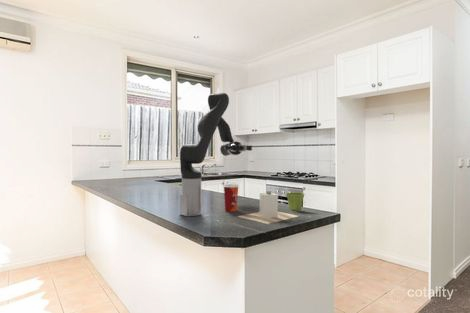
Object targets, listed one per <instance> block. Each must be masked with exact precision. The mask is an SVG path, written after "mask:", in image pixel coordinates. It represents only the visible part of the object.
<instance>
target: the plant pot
mask: <svg viewBox="0 0 470 313" xmlns="http://www.w3.org/2000/svg"><path fill="white" fill-rule="evenodd" d="M285 195H286V197H287V204H288V211H289V210H291V211H295V212H302V208H303V202H304V201H303V200H304V197H305V193H303V192H286V193H285Z"/></svg>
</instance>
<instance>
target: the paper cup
mask: <svg viewBox="0 0 470 313" xmlns="http://www.w3.org/2000/svg"><path fill="white" fill-rule="evenodd" d="M239 188H240V186H239V184H238V183H235V182H227V183H223V189H224V190H223V196H224V211H225V212H226V213H227V212H228V213H229V212H233V213H234V212H237V210H238V197H239V196H238V195H239Z"/></svg>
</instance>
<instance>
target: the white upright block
mask: <svg viewBox="0 0 470 313" xmlns="http://www.w3.org/2000/svg"><path fill="white" fill-rule="evenodd" d="M278 209H279V194H277V193H274V192H272V191H270V190H266V192H263V193H262V192H261V193H259V212H260V216H262V217H263V218H276V217H278V212H279V210H278Z"/></svg>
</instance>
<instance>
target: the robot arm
mask: <svg viewBox="0 0 470 313" xmlns="http://www.w3.org/2000/svg"><path fill="white" fill-rule="evenodd" d="M229 98H230V97H229V95H228V94H227V93H226V92H218V93H215V92H214V93H210V94H209V95H208V97H207V106H208V108H209V111H207V112H206V113H205V114H204V115H203V116H202V117H201V118H200V120H199V123H198V125H197V133H198V135H199V138H200V139H199V141H198V143H194V144H190V143H189V144H188V143H187V144H183V145H182V146H181V147H180V149H179V151H180V152H179V163H180V174H181V194H179V215H181V216H184V217H196V216H197V217H198V216H200V215H202V172H201V171H199V170H197V169H195V168H194V167H193V165H199V164H202V163H203V162H204V160H205V158H206V155H207V152H208V148H209V146H210V144H211V140H212V138H213V136H214V135H215V132H216V130H218V134H219V139H220V140H221V142H223V143H225V144H222V145H221V146H220V147H219V148H220V151H219V152H220V154H222V155H223V156H225V157H226V156H230V155H232V156H239V155H240V154H241V153H242V152H246V151H253V145H246V144H242V143H241V142H240V141H235V140H234V138H233V136H232V132H231V128H230V125H229V124H228V122H227V121H226V119H224V118H223V115H224V113H225V112H226V110H227V109H228V106H229V103H230V99H229Z"/></svg>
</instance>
